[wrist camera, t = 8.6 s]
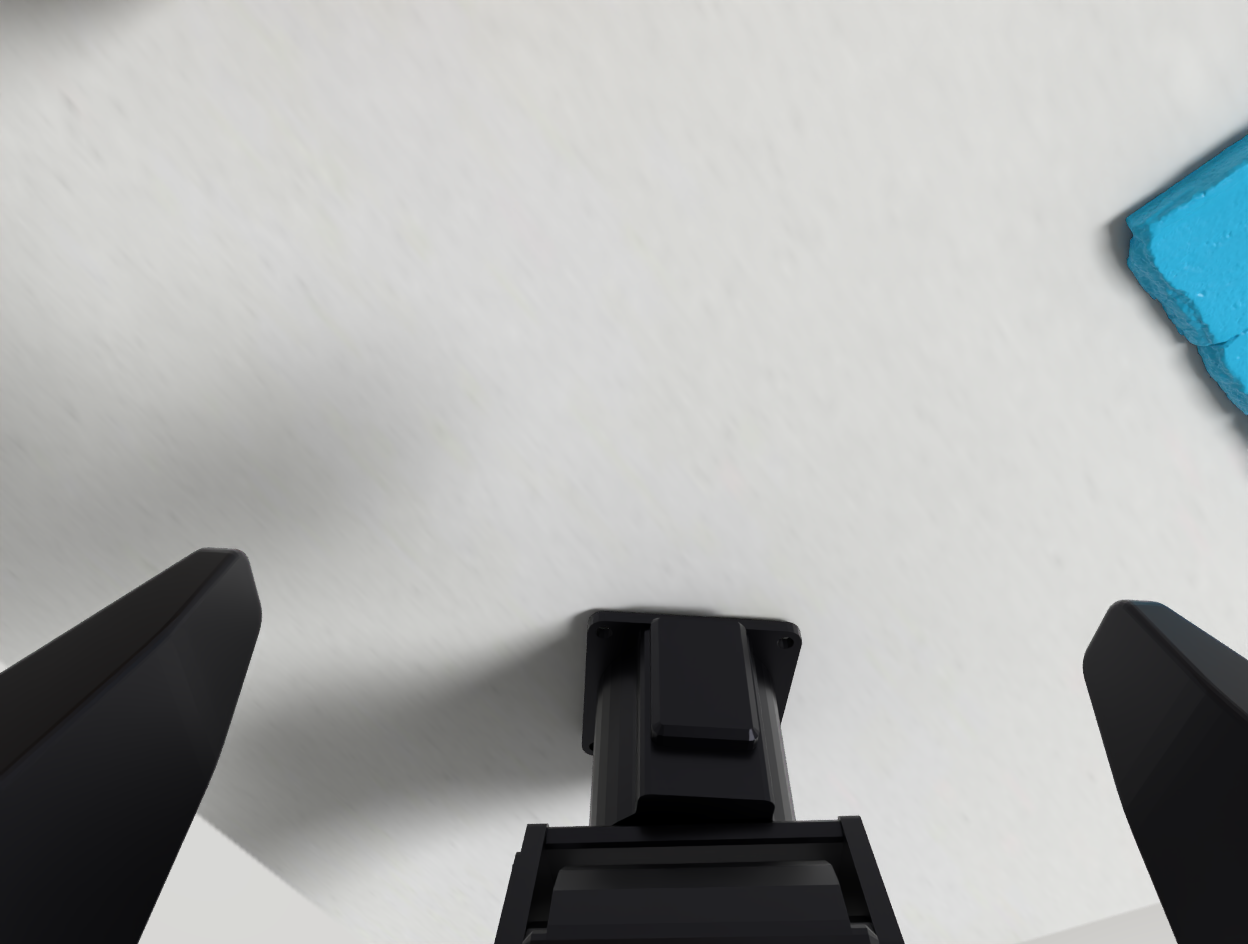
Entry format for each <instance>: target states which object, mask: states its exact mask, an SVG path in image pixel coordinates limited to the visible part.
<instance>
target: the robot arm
mask: <svg viewBox="0 0 1248 944" xmlns="http://www.w3.org/2000/svg"><path fill="white" fill-rule="evenodd" d="M261 622H262V609H261V603H260V600H259V596H258V592H257V588H256V585H255V581H254V577H253V573H252V570H251V566H250V562H249V560H248V557H247V556H246V554H245V553H244V552H243V551H241V550H238V549H227V548H209V547H208V548H202V549H199V550H197V551H195V552H193V553H191V554H190V555H188V556H187V557H185V558H183V559H182V560H180V561H179V562H177V563H175V564H174V565H172V566H171V567H169V568H167V569H166V570H164V571H163V572H161V573H159V574H158V575H156V576H155V577H153V578H151V579H150V580H148V581H147V582H145V583H143V584H142V585H140V586H139V587H137V588H135V589H134V590H132V591H131V592H129V593H128V594H126V595H124V596H123V597H121V598H120V599H118V600H116V601H115V602H113V603H112V604H110V605H108V606H107V607H105V608H104V609H102V610H100V611H99V612H97V613H96V614H94V615H92V616H91V617H89V618H88V619H86V620H84V621H83V622H81V623H80V624H78V625H76V626H75V627H73V628H72V629H70V630H68V631H67V632H65V633H64V634H62V635H60V636H59V637H57V638H56V639H54V640H52V641H51V642H49V643H48V644H46V645H44V646H43V647H41V648H40V649H38V650H36V651H35V652H33V653H32V654H30V655H28V656H27V657H25V658H24V659H22V660H20V661H19V662H17V663H16V664H14V665H12V666H11V667H9V668H8V669H6V670H5V671H3V672H1V673H0V944H138V942H139V940H140V938H141V935H142V933H143V931H144V929H145V926H146V924H147V922H148V920H149V917H150V915H151V913H152V911H153V908H154V906H155V904H156V902H157V899H158V897H159V895H160V893H161V890H162V888H163V886H164V884H165V881H166V879H167V877H168V875H169V872H170V870H171V868H172V865H173V863H174V861H175V859H176V857H177V854H178V852H179V850H180V848H181V845H182V843H183V841H184V839H185V836H186V834H187V832H188V830H189V827H190V825H191V823H192V821H193V818H194V816H195V814H196V812H197V809H198V807H199V805H200V803H201V800H202V798H203V796H204V794H205V791H206V789H207V787H208V785H209V782H210V780H211V777H212V775H213V773H214V770H215V768H216V765H217V763H218V760H219V757H220V754H221V751H222V748H223V745H224V743H225V740H226V736H227V733H228V730H229V727H230V724H231V720H232V717H233V714H234V711H235V708H236V705H237V701H238V698H239V695H240V692H241V689H242V686H243V682H244V679H245V676H246V673H247V670H248V666H249V663H250V660H251V657H252V654H253V651H254V647H255V644H256V641H257V638H258V635H259V631H260V628H261ZM600 627H608V628H609V629H602V628H600ZM784 637H789V638H787V639H781V638H784ZM801 645H802V639H801V634H800V630H799V628H798V626H796V625H795V624H793V623H790V622H781V621H764V620H747V619H729V618H712V617H695V616H678V615H660V614H643V613H626V612H609V611H603V612H597V613H595V614H593V615H592V616H591V617H590V618H589V621H588V632H587V653H586V673H585V693H584V714H583V734H582V748H583V750H584V751H585V752H586V753H587V754H589V755H593V769H592V786H591V802H590V819H589V826H573V827H549V825H548V824H528V825H527V828H526V832H525V836H524V840H523V845H522V849H521V852H517V853H516V855H515V860H514V864H513V865H512V872H511V876H510V880H509V884H508V889H507V893H506V897H505V901H504V905H503V909H502V913H501V917H500V922H499V926H498V930H497V934H496V938H495V942H494V944H905V943H904V940H903V937H902V934H901V932H900V929H899V926H898V923H897V920H896V917H895V914H894V912H893V909H892V906H891V903H890V900H889V897H888V894H887V892H886V889H885V886H884V883H883V880H882V877H881V874H880V872H879V869H878V866H877V863H876V860H875V857H874V854H873V851H872V849H871V846H870V843H869V840H868V837H867V834H866V831H865V829H864V826H863V823H862V820H861V817H860V816H838V820H811V821H796V818H795V812H794V806H793V800H792V794H791V788H790V781H789V775H788V769H787V763H786V757H785V751H784V744H783V738H782V732H781V726H780V725H781V722H782V718H783V714H784V710H785V706H786V702H787V699H788V695H789V691H790V687H791V683H792V680H793V676H794V672H795V668H796V664H797V660H798V657H799V653H800V649H801ZM1083 674H1084V679H1085V682H1086V686H1087V689H1088V693H1089V696H1090V699H1091V703H1092V706H1093V710H1094V713H1095V716H1096V720H1097V723H1098V727H1099V730H1100V734H1101V737H1102V740H1103V744H1104V747H1105V751H1106V754H1107V758H1108V761H1109V764H1110V768H1111V771H1112V775H1113V778H1114V782H1115V785H1116V788H1117V791H1118V794H1119V797H1120V800H1121V804H1122V807H1123V810H1124V812H1125V815H1126V818H1127V820H1128V823H1129V826H1130V828H1131V831H1132V834H1133V836H1134V839H1135V841H1136V843H1137V846H1138V848H1139V851H1140V853H1141V856H1142V858H1143V860H1144V863H1145V865H1146V868H1147V870H1148V873H1149V875H1150V878H1151V880H1152V882H1153V885H1154V887H1155V890H1156V892H1157V895H1158V897H1159V899H1160V902H1161V904H1162V907H1163V909H1164V912H1165V914H1166V917H1167V919H1168V921H1169V924H1170V926H1171V929H1172V931H1173V934H1174V936H1175V938H1176V941H1177V943H1178V944H1248V660H1247V659H1245V658H1244V657H1242V656H1241V655H1239V654H1238V653H1236V652H1235V651H1233V650H1232V649H1230V648H1229V647H1227V646H1226V645H1224V644H1223V643H1221V642H1220V641H1218V640H1217V639H1215V638H1214V637H1212V636H1211V635H1209V634H1208V633H1206V632H1205V631H1203V630H1202V629H1200V628H1198V627H1197V626H1195V625H1194V624H1192V623H1191V622H1189V621H1188V620H1186V619H1185V618H1183V617H1182V616H1180V615H1179V614H1177V613H1176V612H1174V611H1173V610H1171V609H1170V608H1168V607H1167V606H1165V605H1163V604H1161V603H1158V602H1154V601H1139V600H1120V601H1117V602H1115V603H1114V604H1113V605H1111V606H1110V608H1109V609H1108V611H1107V613H1106V614H1105V616H1104V618H1103V620H1102V622H1101V624H1100V626H1099V627H1098V629H1097V631H1096V633H1095V635H1094V637H1093V638H1092V640H1091V642H1090V644H1089V646H1088V648H1087V650H1086V652H1085V655H1084V659H1083Z"/></svg>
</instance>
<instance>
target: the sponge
mask: <svg viewBox="0 0 1248 944" xmlns="http://www.w3.org/2000/svg"><path fill="white" fill-rule="evenodd" d="M1126 222H1127V225H1128V227H1129V228H1130V230H1131V231H1132V233H1133V237H1132V238H1131V240H1130V249H1129V257H1128V258H1127V265H1128V267H1129V269H1130V270H1131V271H1132V272H1133V273H1134V276H1135V277H1136V279H1137V280H1138V282H1139V284H1140V285H1141V286H1142V288H1143V289H1144V290H1145V291H1146V292H1148V293H1149V294H1150V296H1151V297H1152V299H1154V300H1155V299H1157V300H1158V301H1159V302H1160V303H1162V307H1163V309H1164V310H1165V311H1166V313H1167V315H1168V318H1169V319H1171V321H1172V323H1173V324H1175V325H1176V328H1177V330H1178V332H1179V334H1181V335H1184V336H1185V337H1186V338H1187V340H1188V341H1190V343H1192V344H1194V345H1197V348H1198V353H1199V355H1200V356H1202V359H1203V362H1204V365H1205V367H1206V370H1207V372H1208V373H1209V374H1210V375H1211V376H1210V378H1211V377H1213V379H1214V380H1215V381H1217V383H1218V384H1219V386H1220V388H1221V389H1222V390H1224V392H1225V393H1227V397H1228V399H1230V400H1231V401H1232V402H1233V404H1235V405H1236V407H1237V408H1239V409H1240V410H1242V411H1243V413H1244V414H1246V415H1248V134H1247V135H1246V136H1245V137H1244V138H1242V139H1241V140H1239V141H1237V142H1236V143H1234V144H1233V145H1231V146H1229V147H1227V148H1226V149H1224V150H1223V151H1222V152H1221V153H1220V154H1218V155H1217V156H1215V157H1214V158H1212V159H1211V160H1209V161H1208V162H1206V163H1205V164H1203V165H1202V166H1201V167H1199V168H1198V169H1197V170H1195V171H1193V172H1192V173H1190V174H1189V175H1188V176H1186V177H1185V178H1184V179H1182V180H1181V181H1179V182H1177V183H1176V184H1174V185H1173V186H1172V187H1171V188H1169V189H1168V190H1167V191H1165V192H1164V193H1161V194H1160V195H1158V196H1157V197H1156V198H1155V199H1152V201H1150V202H1148V203H1146V204H1145V205H1144V206H1143V207H1141V208H1140V209H1138V210H1137V211H1135V212H1134V213H1132V214H1131V215H1129V216H1128V217H1127V218H1126Z"/></svg>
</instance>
